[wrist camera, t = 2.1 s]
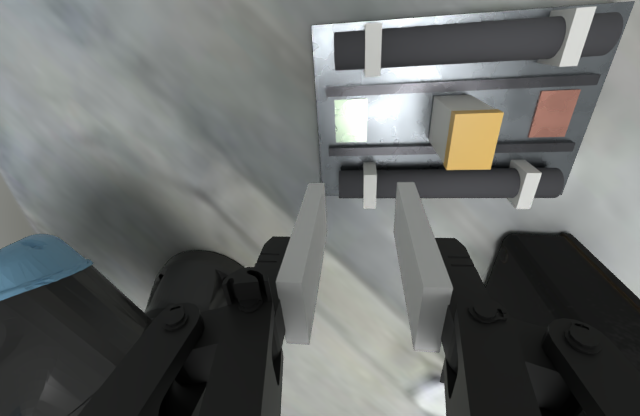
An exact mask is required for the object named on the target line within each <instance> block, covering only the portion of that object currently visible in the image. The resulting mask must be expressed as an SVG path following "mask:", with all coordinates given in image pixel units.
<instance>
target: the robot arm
mask: <svg viewBox="0 0 640 416" xmlns="http://www.w3.org/2000/svg"><path fill="white" fill-rule="evenodd" d="M326 236H327V218H326V201H325V185H324V183H308V186H307V189H306V192H305V195H304V198H303V201H302V204H301V207H300V210H299V213H298V216H297V219H296V222H295V225H294V228H293V231H292V234H291V237H272V238H271V239H270V240H269V241H267V242H266V243H265V244H264V246H263V249H262V251H261V253H260V255H259V258H258V260H257V263H256V264H255V267H247V268H243V267H242V266H241V265H239V264H238V263H236V262H235V261H233V260H231V259H229V258H227V257H225V256H222V255H220V254H216V253H213V252H208V251H187V252H183V253H180V254H177V255H175V256H174V257H172V258H171V259H170V260H169V261H168V262H167V263H166V264H165V266H164V267H163V268H162V269H161V270H160V272H159V273H158V275H157V277H156V279H155V282H154V286H153V288H152V291H151V294H150V297H149V300H148V304H147V307H146V310H145V312H143V311H142V310H141V309H139V308H138V307H137V306H136V305H135V304H134V303H133V302H132V301H131V300H130V299H128V298H127V297H126V296H125V295H124V294H123V293H122V292H121V291H120V290H119V289H117V288H116V287H115V286H114V285H113V284H112V283H111V282H110V281H109V280H108V279H106V278H105V277H104V276H103V275H102V274H101V273H100V272H99V271H98V270H97V269H96V268H94V267H93V266H92V264H93V262H92V261H91V260H89V259H85V258H84V257H82V256H81V255H80V254H79V253H77V252H76V251H75V250H74V249H73V248H71V247H70V246H69V245H68V244H66V243H65V242H64V241H63V240H61V239H60V238H58V237H56V236H53V235H48V234H36V235H31V236H28V237H25V238H23V239H21V240H19V241H17V242H14V243H12V244H10V245H8V246H6V247H4V248H2V249H0V416H280V414H281V394H282V374H283V351H282V344H283V339H284V335H285V337H286V342H287V343H290V344H307V345H309V343H310V337H311V331H312V324H313V318H314V312H315V305H316V299H317V293H318V287H319V280H320V274H321V268H322V261H323V255H324V249H325V242H326ZM394 237H395V243H396V249H397V254H398V260H399V266H400V272H401V278H402V283H403V289H404V295H405V301H406V307H407V312H408V318H409V324H410V330H411V336H412V341H413V347H414V351H424V352H440V347H441V342H442V344H443V348H444V352H445V360H444V365H443V369H442V373H441V378H440V382H442V383H444V385H445V400H446V416H640V372H639V371H638V370H637V369H636V368H635V367H634V366H633V365H632V363H631V362H630V361H629V360H628V359H627V358H626V357H625V356H624V355H623V353H622V352H621V351H620V350H619V349H618V348H617V347H616V346H615V345H614V343H613V342H612V341H611V340H610V339H609V338H607V337H606V336H605V335H604V334H603V333H602V332H601V331H599V330H597V329H595V328H594V327H592V326H590V325H588V324H586V323H583V322H580V321H578V320H574V319H567V318H561V319H556V320H554V321H552V322H551V323H550V324H549V326H548V328H545V327H542V326H538V325H535V324H531V323H528V322H524V321H521V320H518V319H515V318H513V317H511V316H510V315H509V313H508V311H507V310H506V309H505V308H504V307H503V306H502V305H501V304H500V303H498V302H496V301H494V300H492V299H491V298H490V296H489V294H488V292H487V290H486V288H485V286H484V284H483V282H482V280H481V278H480V276H479V274H478V272H477V270H476V268H475V267H474V264H473V262H472V260H471V259H470V256H469V254H468V252H467V250H466V248H465V246H464V245H462V244H461V243H460V242H459V241H458V240H457V239H455V238H435V237H434V234H433V232H432V229H431V226H430V224H429V221H428V218H427V215H426V213H425V210H424V207H423V204H422V202H421V199H420V196H419V194H418V191H417V188H416V185H415V183H414V182H397V191H396V205H395V219H394Z"/></svg>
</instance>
